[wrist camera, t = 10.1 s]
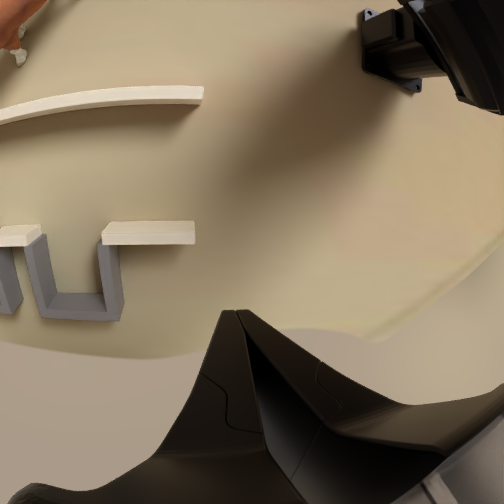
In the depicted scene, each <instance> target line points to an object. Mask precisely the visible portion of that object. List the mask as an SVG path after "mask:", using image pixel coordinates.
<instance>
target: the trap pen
mask: <svg viewBox="0 0 504 504" xmlns="http://www.w3.org/2000/svg"><path fill="white" fill-rule="evenodd" d="M203 91H204V87H203V86H137V87H121V88H109V89H99V90H91V91H83V92H76V93H70V94H64V95H58V96H53V97H47V98H43V99H38V100H34V101H29V102H25V103H21V104H17V105H14V106H10V107H6V108H3V109H0V125H3V124H7V123H11V122H15V121H19V120H23V119H28V118H32V117H37V116H43V115H48V114H54V113H60V112H66V111H73V110H81V109H89V108H98V107H109V106H123V105H144V104H195V105H201V102H202V100H203ZM101 235H102V239H101V240H100V241H99V243H98V244H97V251H98V260H99V267H100V274H101V280H102V287H103V293H104V294H84V293H57V290H56V286H55V281H54V277H53V272H52V267H51V262H50V256H49V250H48V244H47V237H46V234H42V231H41V224H30V225H12V226H3V227H2V228H0V313H1V314H10V315H12V314H13V312H14V311H15V310H16V308H17V307H18V306H19V304H20V303H21V302H22V300H23V296H22V292H21V289H20V285H19V281H18V277H17V273H16V269H15V265H14V260H13V255H12V251H11V246H23V247H24V253H25V258H26V262H27V267H28V272H29V276H30V280H31V284H32V288H33V292H34V295H35V299H36V302H37V306H38V309H39V312H40V315H41V317H42V318H56V319H72V320H93V321H119V320H120V317H121V313H122V310H123V306H124V297H123V290H122V282H121V274H120V266H119V256H118V245H149V244H195V226H194V221H112V222H110V223H109V224H108V225H107V226H106V228H105V229H104V230H103V231H102V233H101Z"/></svg>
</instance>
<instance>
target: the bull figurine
mask: <svg viewBox="0 0 504 504" xmlns="http://www.w3.org/2000/svg"><path fill="white" fill-rule="evenodd" d="M46 1H47V0H0V49H1V48H4V49H7V50H9V52H10V53H11V54H15V57H16V64H17V66H18V67H20V66H22V65H23V64H24V63H25V62H26V56H27V52H26V50H24V49H21V43H20V39H22V38H23V36H24V32H25V31H26V29H25V26H24V25H23V26H20V25H22V24H23V23H24V22H25V21H26V20H28V19H29V18H30V17H31V16H32V15H33V14H34V13H35V12H37V11H38V10H39V9H40V8H41V7H42V6H43V5H44V4H45V2H46Z"/></svg>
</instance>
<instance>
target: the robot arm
mask: <svg viewBox="0 0 504 504" xmlns="http://www.w3.org/2000/svg"><path fill="white" fill-rule="evenodd" d="M397 1H398V2H399V3H400V5H403V7H402V8H399V9H397V10H395V9H390V10H388V11H385V12H383V13H381V14H380V13H378V12H376V11H373V10H371V9H369V8H367V9H365V10H363V12H362V20H363V22H362V69H363V70H364V72H366V73H368V74H371V75H373V76H376V77H379V78H381V79H384V80H386V81H389V82H391V83H394V84H396V85H399V86H401V87H403V88H406V89H408V90H410V91H412V92H414V93H420V92H421V89H422V78H429V77H441V76H448V78H449V80H450V82H451V84H452V86H453V88H454V90H455V92H456V96H457V99H458V101H461V102H464V103H467V104H470V105H473V106H476V107H478V108H480V109H483V110H486V111H489V112H491V113H495V114H498V115H504V0H397ZM367 12H368V13H369V14H368V13H367ZM367 65H368V66H369V68H370V69H368V67H367ZM416 87H417V89H416ZM8 504H504V383H503V384H501V385H499V386H498V387H497V388H496V389H494V390H493V391H491V392H489V393H486V394H483V395H480V396H476V397H471V398H466V399H461V400H454V401H448V402H440V403H432V404H423V405H407V404H401V403H398V402H396V401H394V400H391V399H389V398H387V397H385V396H383V395H381V394H379V393H377V392H375V391H373V390H371V389H369V388H367V387H365V386H363V385H361V384H359V383H357V382H355V381H353V380H351V379H350V378H348V377H346V376H344V375H343V374H341V373H340V372H338V371H336V370H334V369H333V368H332V367H330V366H328V365H327V364H326V363H324V362H321V361H320V360H319V359H318V358H316V357H315V356H313V355H312V354H311V353H309V352H308V351H306V350H305V349H303V348H302V347H300V346H299V345H297V344H296V343H295V342H293V341H292V340H290V339H289V338H287V337H286V336H285V335H283V334H281V333H280V332H279V331H278V330H276V329H275V328H273V327H272V326H271V325H269V324H268V323H266V322H265V321H264V320H262V319H261V318H259V317H258V316H257V315H255V314H254V313H253V312H251V311H250V310H248V309H243V310H236V311H235V310H223V311H222V312H221V314H220V317H219V320H218V322H217V325H216V328H215V330H214V333H213V336H212V338H211V341H210V344H209V347H208V349H207V352H206V355H205V357H204V360H203V363H202V366H201V368H200V371H199V374H198V376H197V379H196V381H195V384H194V387H193V389H192V391H191V394H190V396H189V398H188V400H187V401H186V403H185V405H184V407H183V409H182V411H181V412H180V414H179V416H178V417H177V419H176V421H175V422H174V424H173V425H172V427H171V429H170V430H169V432H168V434H167V436H166V437H165V439H164V440H163V442H162V443H161V445H160V446H159V448H158V449H157V450H156V452H155V453H154V454H153V455H152V456H151V457H150V458H148V459H147V460H146V461H144V462H142V463H141V464H139V465H138V466H136V467H135V468H133V469H131V470H130V471H128V472H126V473H125V474H123V475H121V476H120V477H118V478H116V479H115V480H113V481H111V482H110V483H108V484H106V485H104V486H102V487H99V488H97V489H93V490H88V491H72V490H66V489H62V488H58V487H54V486H50V485H47V484H41V483H31V484H29V485H27V486H26V487H24V488H23V489H21V490H19V491H18V492H17V493H16V494H15V495H13V496H12V498H11V499H10V500H9V502H8Z"/></svg>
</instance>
